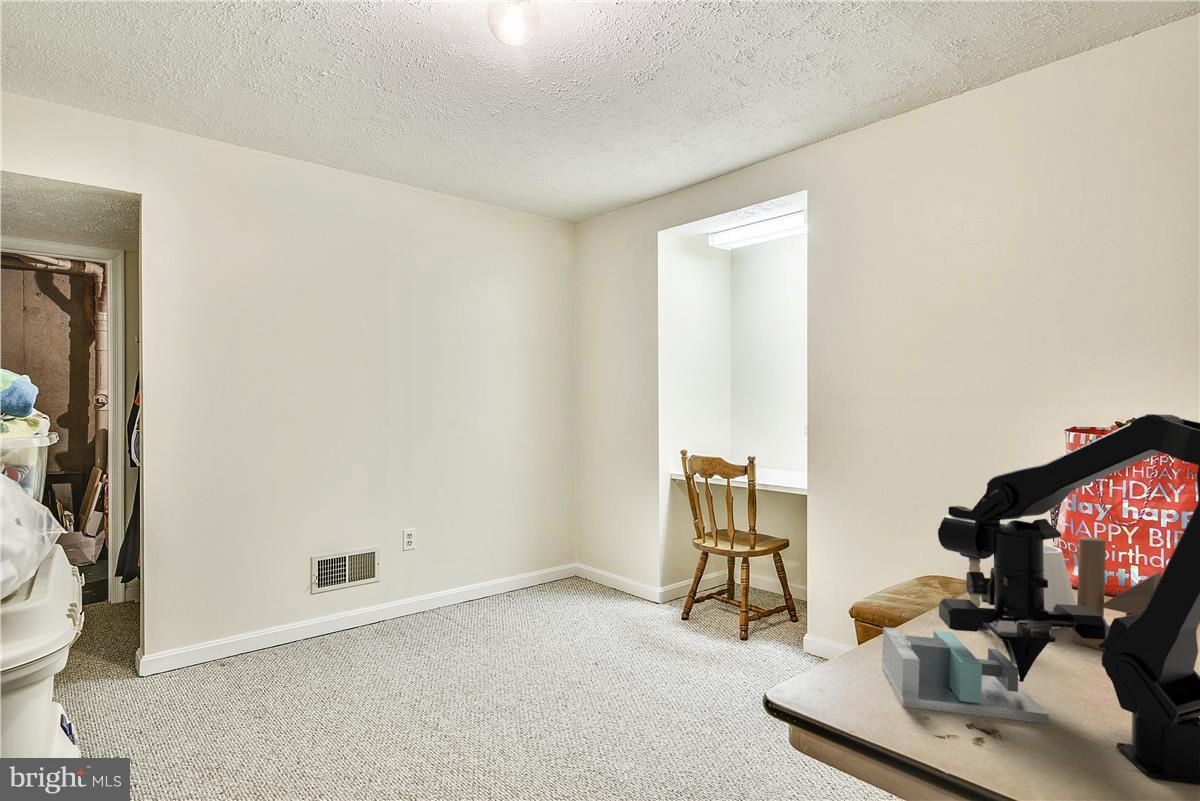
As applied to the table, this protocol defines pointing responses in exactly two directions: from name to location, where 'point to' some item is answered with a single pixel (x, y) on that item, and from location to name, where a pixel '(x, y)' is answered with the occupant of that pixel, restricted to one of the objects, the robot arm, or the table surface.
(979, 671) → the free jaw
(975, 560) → the toy lamp
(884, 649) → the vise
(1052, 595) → the white faceted vase
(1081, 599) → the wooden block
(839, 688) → the table surface
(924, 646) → the steel block
